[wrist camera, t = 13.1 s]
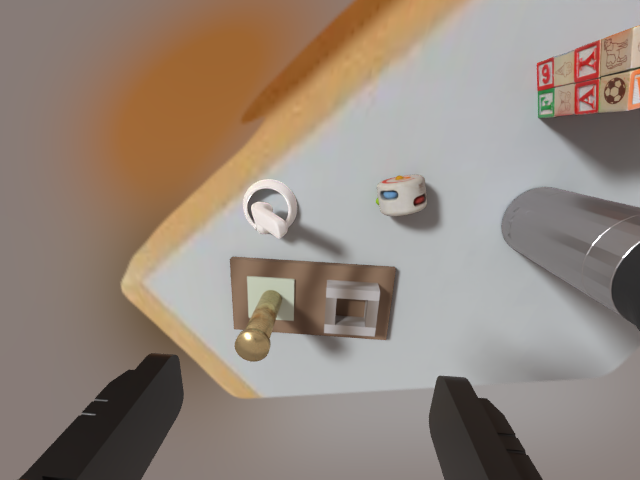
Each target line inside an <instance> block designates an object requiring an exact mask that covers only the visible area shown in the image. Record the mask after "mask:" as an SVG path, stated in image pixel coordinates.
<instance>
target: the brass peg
mask: <svg viewBox="0 0 640 480" xmlns="http://www.w3.org/2000/svg"><path fill="white" fill-rule="evenodd" d="M281 303H282V297H281V295H280V294H279V293H278V292H277V291H274V290H267V291H265V292H264V293H263V294H262V296H261V298H260V300H259V302H258V304H257V306H256V308H255V310H254V312H253V314H252V316H251V318H250V320H249V322H248V324H247V326H246V328H245V330H243V331H242V332H241V333H240V334H239V335H238V337H237V339H236V341H235V350H236V352H237V353H238V355H239V356H240V357H242V358H243V359H245V360H248V361H260V360H262V359H264V358H265V357H266V356H267V354H268V352H269V349H270V339H269V338H270V336H271V333H272V330H273V327H274V324H275V321H276V318H277V315H278V312H279V309H280V306H281Z"/></svg>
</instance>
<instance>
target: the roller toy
mask: <svg viewBox="0 0 640 480" xmlns="http://www.w3.org/2000/svg"><path fill="white" fill-rule="evenodd" d="M377 193H378V198H377V199H376V203H377V204H378V205H379V207H380V211H381V212H382V213H383V214H384V215H387V216H402V215H409V214H413V213H416V212H419V211H421V210H423V209H424V208H425V207H426V205H427V196H426V187H425V179H424V177H423V176H421V175H405V176H397V177H394V178H390V179H386V180H383V181H381V182H380V183H379V184H378V185H377Z"/></svg>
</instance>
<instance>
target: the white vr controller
mask: <svg viewBox="0 0 640 480" xmlns="http://www.w3.org/2000/svg"><path fill="white" fill-rule="evenodd" d="M265 188H266V189H273V190H275V191H277V192H279V193H280V194H281V195H282V196H283V197H284V198H285V200H286V201H287V204H288V217H287V219H286V221H285V220H283V219H282V218H280V217H279V216H277V215H276V214H274V213H272V212H273V209H272V206H271V205H270V204H269V203H266V202H256V203H254V204H252V206H251V211H252V215H253V218H254V221H255V223H254V222H253V220H252V219H251V218H250V215H249V213H248V206H247V205H248V201H249V198H250V197H251V195H252V194H253V193H254V192H256V191H258V190H260V189H265ZM243 210H244V214H245V216H246V218H247V220H248V221H249V223H250V224H251V225H252V226H253V227H254V228H255V230H258V231H259V233H260V234H267V233H271V234H273V235H274V236H275V237H277V238H281V237H283V236H284V235H285V234H286V233H287V231H288V227H289V226H290V225H291V224H292V223H293V222H294V220H295V218H296V215H297V201H296V198H295V196H294V194H293V192H292V191H291V190H290V189H289V188H288V187H287V186H286V185H285V184H283V183H281V182H279V181H276V180H272V179H265V180H260V181H258V182H256V183H254V184H253V185H251V186H250V187H249V189H248V190H247V192H246V193H245V196H244V200H243Z"/></svg>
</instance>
